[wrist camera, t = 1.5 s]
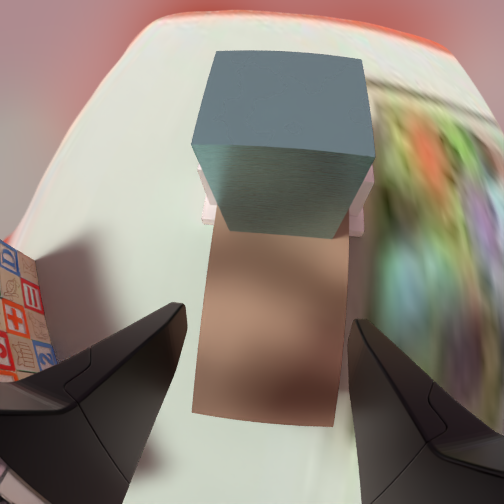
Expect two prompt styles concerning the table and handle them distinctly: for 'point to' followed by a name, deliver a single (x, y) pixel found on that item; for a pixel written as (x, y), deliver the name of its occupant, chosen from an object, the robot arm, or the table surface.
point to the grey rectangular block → (284, 140)
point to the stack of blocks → (21, 318)
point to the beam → (272, 327)
